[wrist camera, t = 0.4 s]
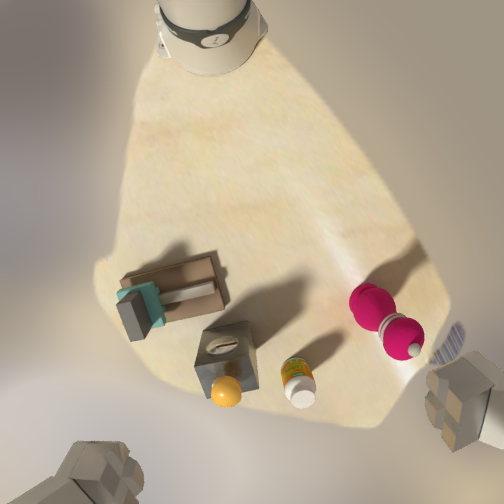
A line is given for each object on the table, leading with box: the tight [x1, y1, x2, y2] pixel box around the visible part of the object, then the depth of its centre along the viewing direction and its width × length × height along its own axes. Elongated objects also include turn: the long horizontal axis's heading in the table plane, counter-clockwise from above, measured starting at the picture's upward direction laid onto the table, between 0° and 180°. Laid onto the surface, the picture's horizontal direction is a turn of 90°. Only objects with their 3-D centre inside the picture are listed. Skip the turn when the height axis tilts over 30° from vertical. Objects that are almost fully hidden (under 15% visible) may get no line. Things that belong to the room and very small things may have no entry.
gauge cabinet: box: [194, 321, 259, 399], centre depth 50 cm, size 7×8×12 cm
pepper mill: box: [349, 284, 424, 361], centre depth 45 cm, size 7×7×20 cm
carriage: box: [116, 281, 167, 342], centre depth 48 cm, size 7×6×8 cm
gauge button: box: [211, 376, 241, 407], centre depth 41 cm, size 4×4×2 cm
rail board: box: [120, 256, 225, 323], centre depth 52 cm, size 9×16×3 cm, turn 104°
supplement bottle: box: [281, 358, 316, 409], centre depth 53 cm, size 5×5×10 cm
